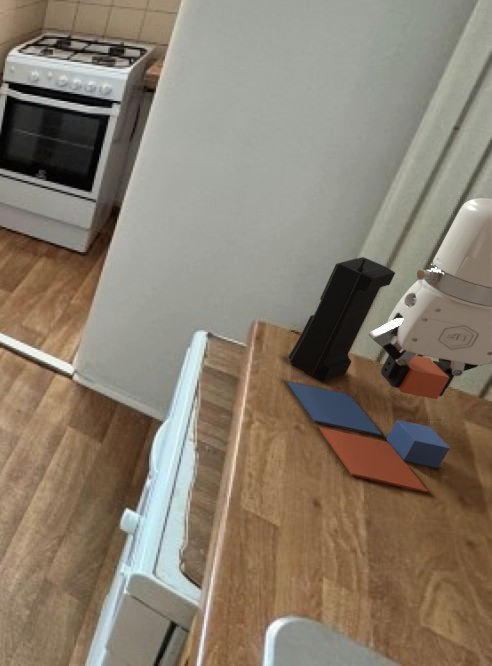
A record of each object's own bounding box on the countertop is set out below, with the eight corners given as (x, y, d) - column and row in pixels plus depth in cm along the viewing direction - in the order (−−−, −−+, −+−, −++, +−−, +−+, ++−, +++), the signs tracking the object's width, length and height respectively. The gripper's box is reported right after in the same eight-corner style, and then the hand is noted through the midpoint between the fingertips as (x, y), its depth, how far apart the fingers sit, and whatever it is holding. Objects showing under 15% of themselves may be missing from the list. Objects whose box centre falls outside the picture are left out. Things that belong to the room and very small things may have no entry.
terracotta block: (417, 379, 92) (429, 358, 90) (437, 399, 88) (450, 377, 86) (383, 372, 93) (394, 351, 91) (401, 392, 89) (413, 370, 88)
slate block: (419, 446, 96) (430, 426, 94) (437, 468, 92) (450, 448, 90) (386, 439, 97) (396, 419, 95) (403, 460, 93) (415, 440, 92)
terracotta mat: (387, 443, 96) (388, 442, 96) (427, 493, 88) (428, 491, 88) (319, 429, 99) (320, 427, 98) (351, 475, 91) (352, 473, 90)
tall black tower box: (312, 351, 116) (362, 240, 107) (349, 373, 110) (406, 258, 101) (284, 360, 113) (334, 247, 104) (321, 382, 108) (377, 266, 99)
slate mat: (348, 396, 105) (349, 394, 105) (381, 436, 97) (382, 434, 97) (287, 383, 108) (288, 381, 108) (314, 421, 100) (315, 420, 100)
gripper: (407, 287, 83) (355, 388, 90) (571, 313, 78) (502, 419, 85) (374, 258, 89) (328, 355, 96) (522, 281, 85) (463, 381, 91)
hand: (410, 384), depth 90 cm, fingers closed on terracotta block, 4 cm apart
